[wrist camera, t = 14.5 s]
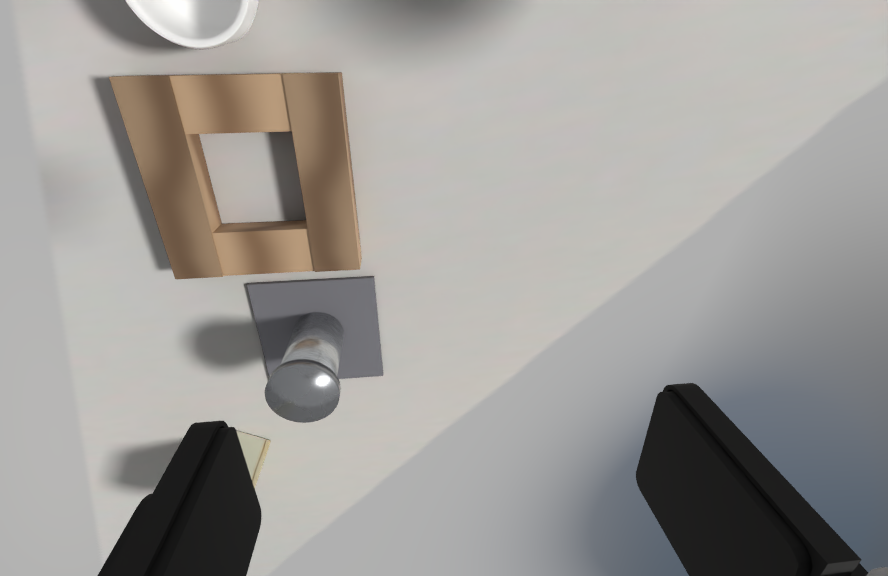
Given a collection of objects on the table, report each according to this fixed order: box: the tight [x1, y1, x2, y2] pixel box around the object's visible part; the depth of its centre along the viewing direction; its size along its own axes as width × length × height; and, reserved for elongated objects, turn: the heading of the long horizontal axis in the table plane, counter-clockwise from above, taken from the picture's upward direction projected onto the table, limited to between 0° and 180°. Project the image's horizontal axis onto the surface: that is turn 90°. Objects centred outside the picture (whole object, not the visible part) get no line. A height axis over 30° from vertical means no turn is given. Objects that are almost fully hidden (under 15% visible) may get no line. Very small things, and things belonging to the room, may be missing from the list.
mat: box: [247, 276, 383, 379], centre depth 45 cm, size 12×12×1 cm
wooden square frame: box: [109, 72, 362, 279], centre depth 37 cm, size 16×16×3 cm
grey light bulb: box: [265, 312, 344, 423], centre depth 41 cm, size 6×6×10 cm
